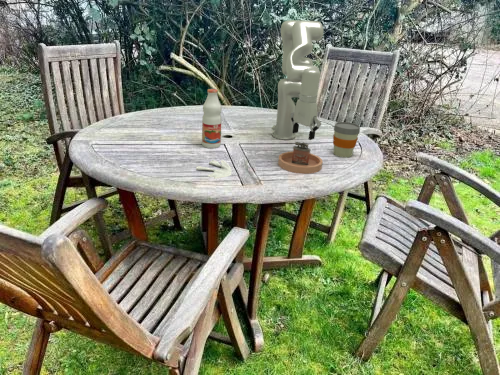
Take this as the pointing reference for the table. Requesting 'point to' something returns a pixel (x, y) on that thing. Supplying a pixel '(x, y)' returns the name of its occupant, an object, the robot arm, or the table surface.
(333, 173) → the table surface
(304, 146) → the lighter
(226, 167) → the cream glove
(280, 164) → the round bowl
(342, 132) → the reusable coffee cup
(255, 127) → the table surface
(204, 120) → the fruit juice
